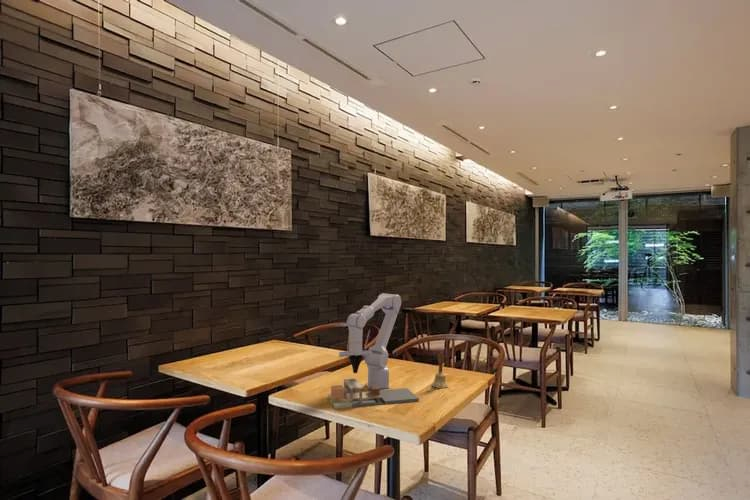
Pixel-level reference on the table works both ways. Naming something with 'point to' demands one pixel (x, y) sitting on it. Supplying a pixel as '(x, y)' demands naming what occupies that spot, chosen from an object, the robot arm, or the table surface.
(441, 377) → the hand bell
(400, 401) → the board
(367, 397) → the sled
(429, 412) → the table surface
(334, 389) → the block
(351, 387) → the tunnel
